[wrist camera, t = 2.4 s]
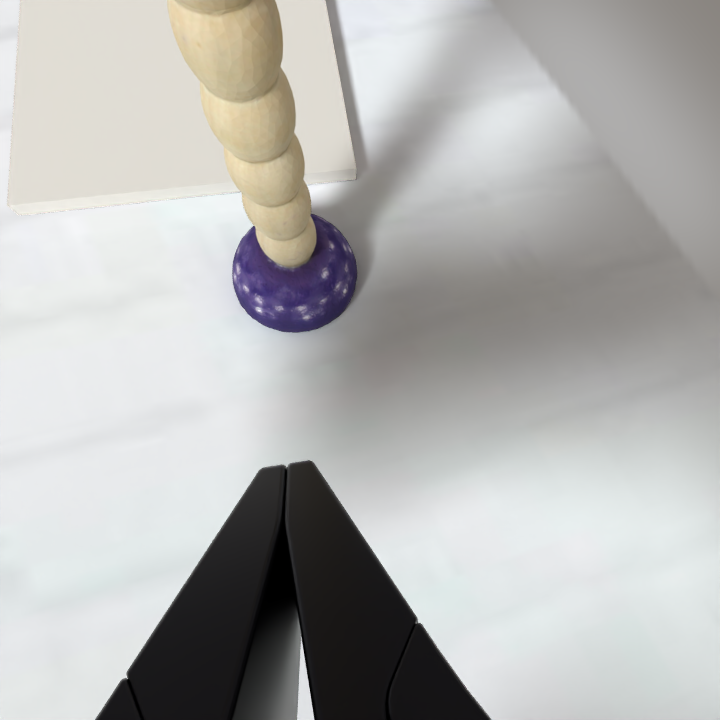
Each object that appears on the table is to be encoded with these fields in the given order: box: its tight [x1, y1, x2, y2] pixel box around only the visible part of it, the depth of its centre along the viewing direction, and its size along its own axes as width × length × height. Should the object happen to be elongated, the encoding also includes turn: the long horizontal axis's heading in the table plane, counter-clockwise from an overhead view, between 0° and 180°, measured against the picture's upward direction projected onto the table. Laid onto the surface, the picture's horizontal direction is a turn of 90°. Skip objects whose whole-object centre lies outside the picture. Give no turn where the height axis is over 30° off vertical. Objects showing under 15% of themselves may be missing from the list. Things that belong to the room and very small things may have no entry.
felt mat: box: [7, 0, 357, 216], centre depth 18 cm, size 16×12×1 cm
